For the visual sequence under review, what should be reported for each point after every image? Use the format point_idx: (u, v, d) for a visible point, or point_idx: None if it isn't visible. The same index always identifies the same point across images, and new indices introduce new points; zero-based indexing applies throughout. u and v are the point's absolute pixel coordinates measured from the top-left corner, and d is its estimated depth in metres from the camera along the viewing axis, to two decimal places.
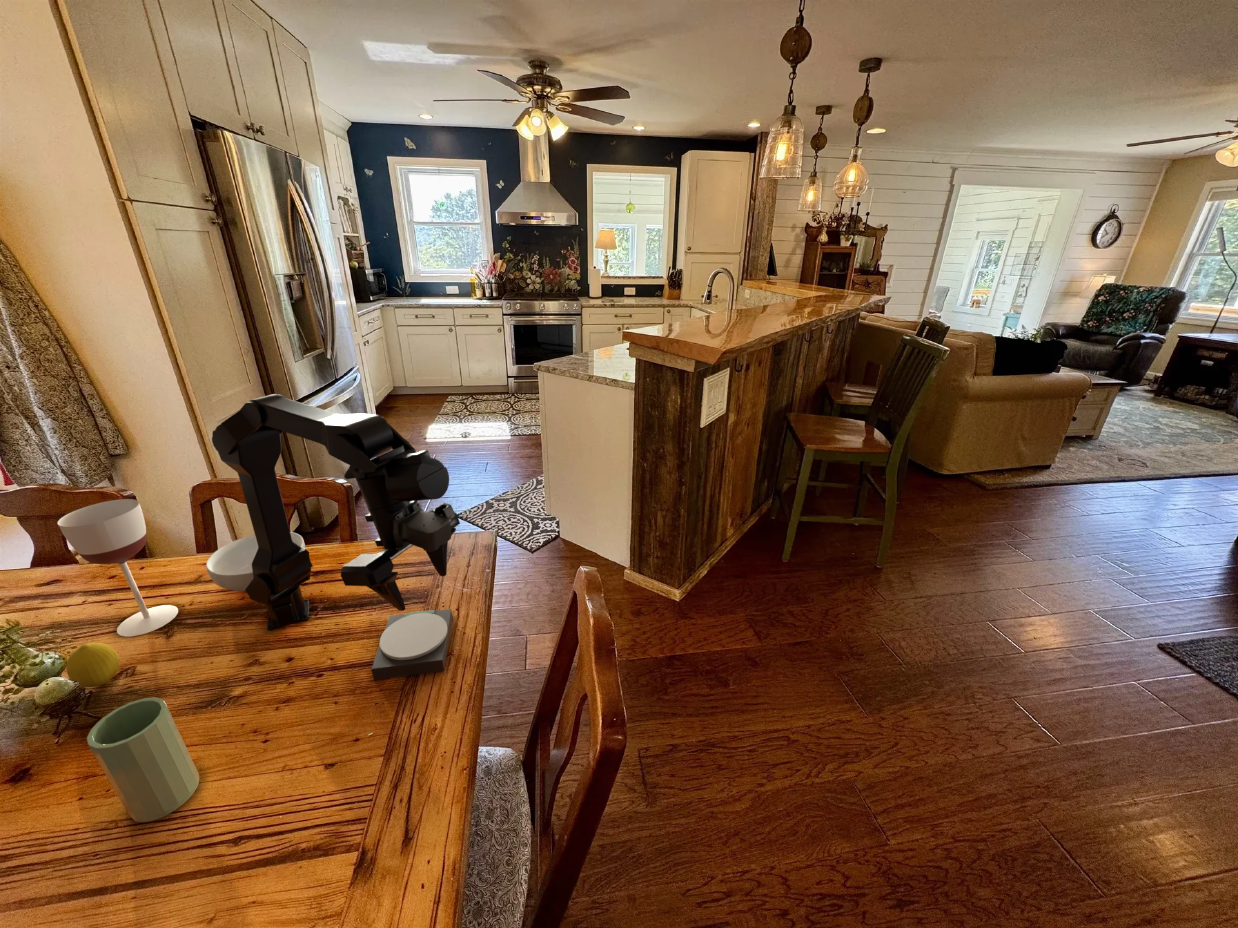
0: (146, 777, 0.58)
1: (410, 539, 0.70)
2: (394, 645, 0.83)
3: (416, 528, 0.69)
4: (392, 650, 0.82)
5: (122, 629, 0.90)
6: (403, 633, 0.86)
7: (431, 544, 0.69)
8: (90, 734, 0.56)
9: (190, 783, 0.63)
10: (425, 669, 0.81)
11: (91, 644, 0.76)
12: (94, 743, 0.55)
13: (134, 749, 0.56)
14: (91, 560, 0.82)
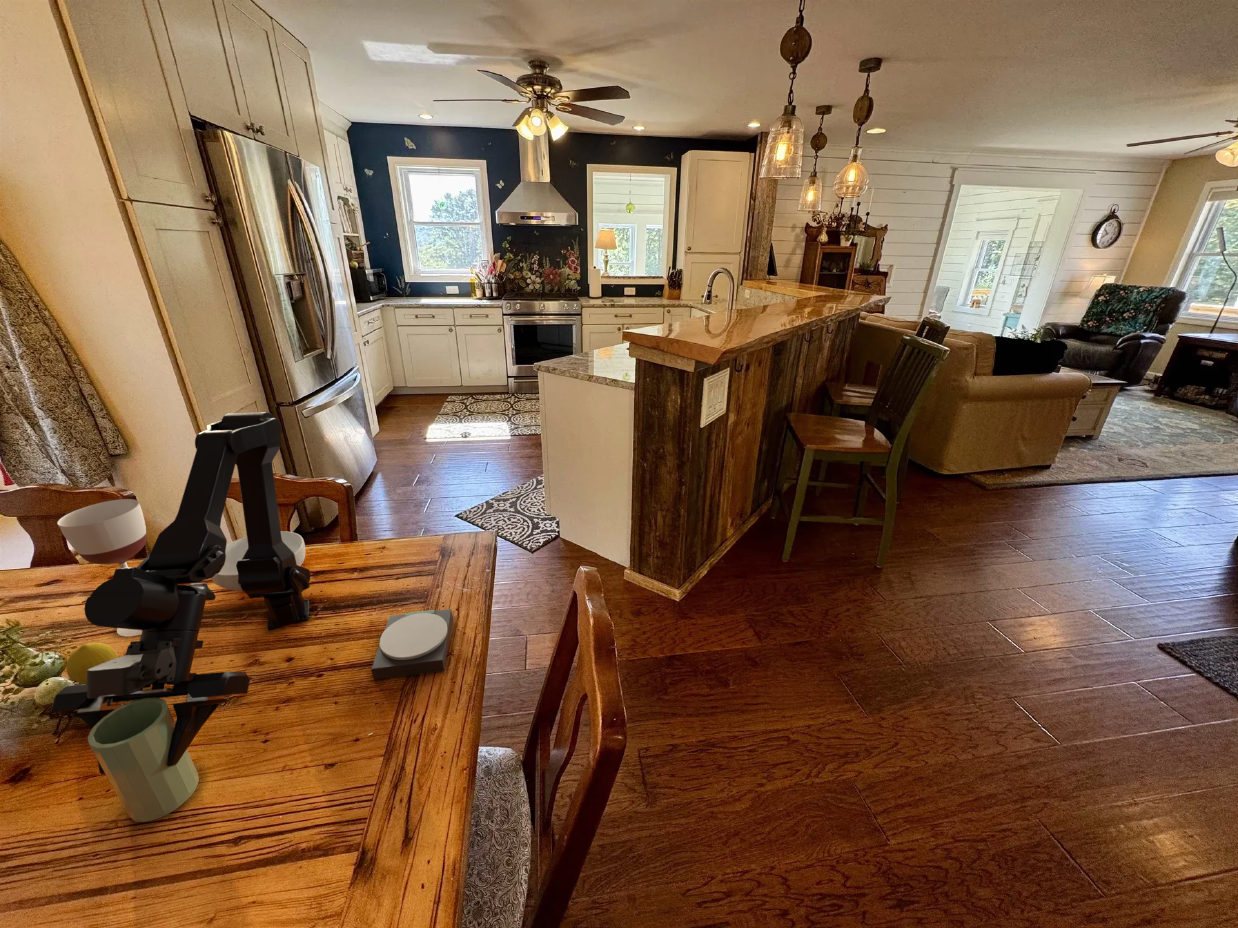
0: (146, 777, 0.58)
1: None
2: (394, 645, 0.83)
3: (105, 662, 0.58)
4: (392, 650, 0.82)
5: (122, 629, 0.90)
6: (403, 633, 0.86)
7: (87, 686, 0.55)
8: (91, 733, 0.56)
9: (189, 783, 0.62)
10: (425, 669, 0.81)
11: (91, 644, 0.76)
12: (95, 743, 0.55)
13: (134, 749, 0.56)
14: (91, 560, 0.82)
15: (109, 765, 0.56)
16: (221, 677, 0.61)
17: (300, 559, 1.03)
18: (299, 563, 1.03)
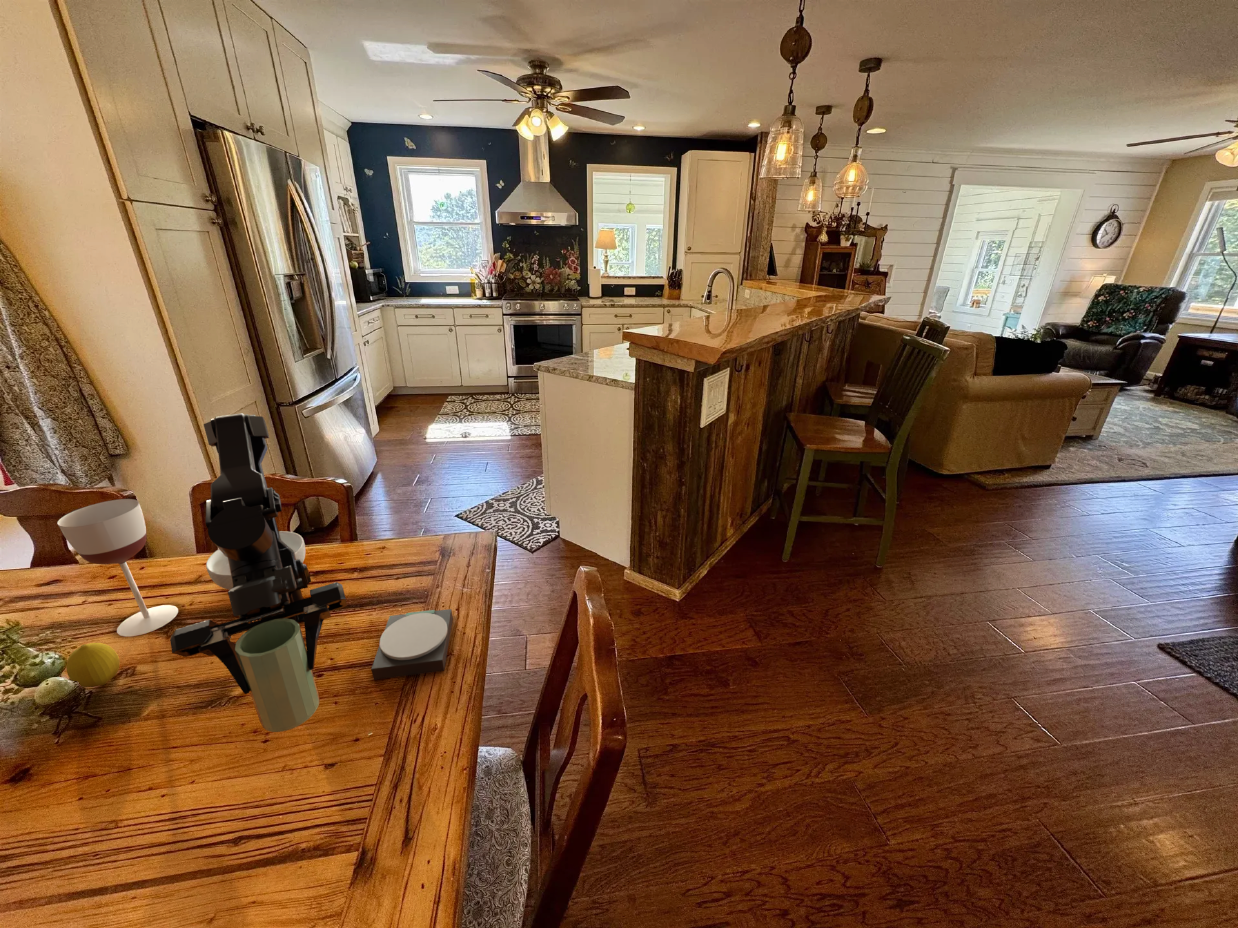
0: (296, 681, 0.64)
1: None
2: (394, 645, 0.83)
3: (232, 589, 0.61)
4: (392, 650, 0.82)
5: (122, 629, 0.90)
6: (403, 633, 0.86)
7: (233, 606, 0.59)
8: (239, 651, 0.60)
9: (317, 691, 0.69)
10: (425, 669, 0.81)
11: (91, 644, 0.76)
12: (253, 654, 0.60)
13: (290, 652, 0.62)
14: (91, 560, 0.82)
15: (268, 672, 0.61)
16: (338, 585, 0.69)
17: (300, 559, 1.03)
18: None
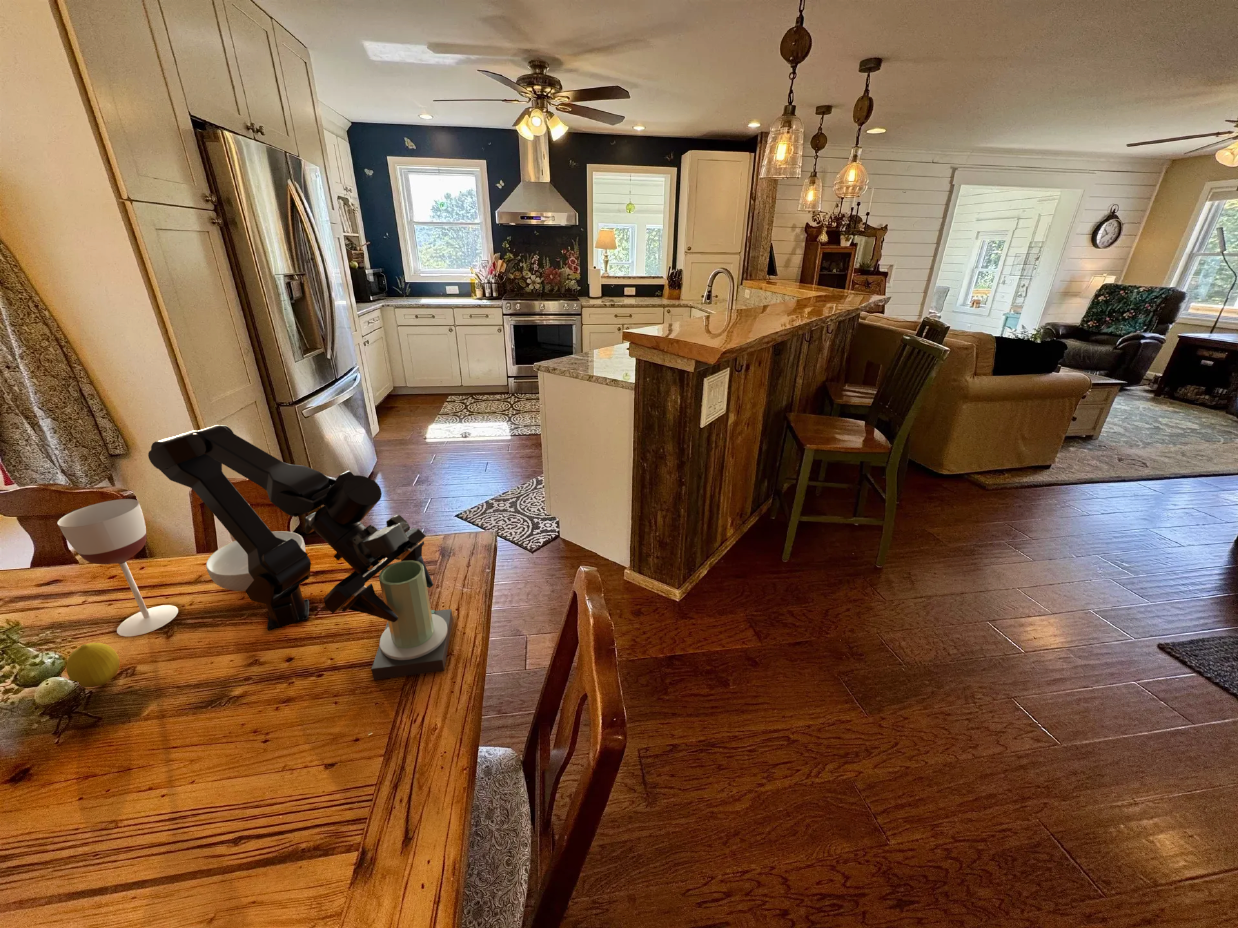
0: (428, 598, 0.84)
1: (371, 552, 0.78)
2: (394, 645, 0.83)
3: (370, 539, 0.77)
4: (392, 650, 0.82)
5: (122, 629, 0.90)
6: None
7: (387, 546, 0.76)
8: (396, 583, 0.78)
9: None
10: (425, 669, 0.81)
11: (91, 644, 0.76)
12: (409, 580, 0.79)
13: None
14: (91, 560, 0.82)
15: (419, 591, 0.80)
16: (416, 528, 0.88)
17: None
18: None
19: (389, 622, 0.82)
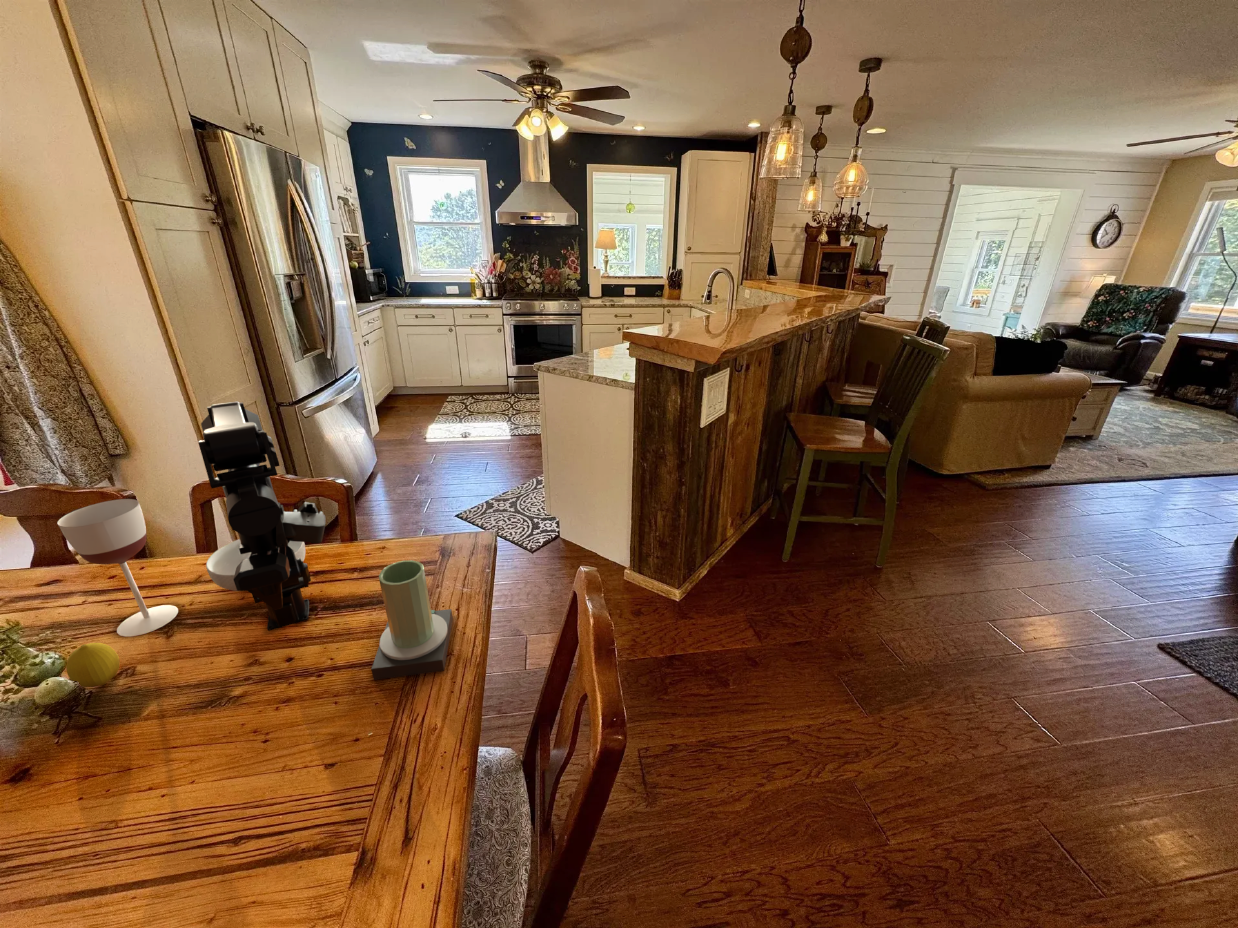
0: (428, 598, 0.84)
1: (295, 536, 0.76)
2: (394, 645, 0.83)
3: (305, 524, 0.76)
4: (392, 650, 0.82)
5: (122, 629, 0.90)
6: None
7: (321, 535, 0.78)
8: (396, 583, 0.78)
9: None
10: (425, 669, 0.81)
11: (91, 644, 0.76)
12: (409, 580, 0.79)
13: None
14: (91, 560, 0.82)
15: (419, 591, 0.80)
16: None
17: None
18: None
19: (389, 622, 0.82)
